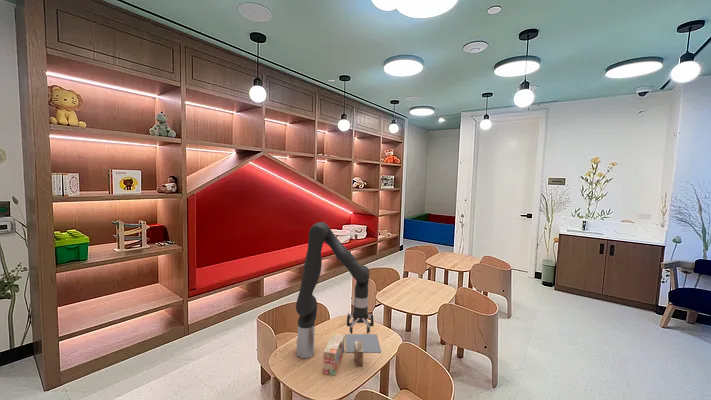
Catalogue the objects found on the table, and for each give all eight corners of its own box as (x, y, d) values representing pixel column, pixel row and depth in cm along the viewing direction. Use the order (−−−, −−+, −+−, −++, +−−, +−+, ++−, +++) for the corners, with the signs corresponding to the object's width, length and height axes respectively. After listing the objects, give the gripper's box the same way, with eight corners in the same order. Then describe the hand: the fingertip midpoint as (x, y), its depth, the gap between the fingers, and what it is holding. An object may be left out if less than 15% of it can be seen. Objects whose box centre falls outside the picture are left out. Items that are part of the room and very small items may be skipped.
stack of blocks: (333, 348, 168) (334, 328, 166) (344, 350, 166) (345, 330, 165) (322, 373, 147) (323, 351, 145) (334, 376, 145) (335, 353, 144)
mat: (346, 353, 164) (346, 352, 164) (345, 334, 182) (345, 334, 182) (381, 352, 165) (381, 352, 165) (376, 334, 183) (376, 334, 183)
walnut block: (355, 366, 153) (355, 349, 152) (354, 358, 160) (354, 341, 159) (362, 366, 153) (363, 349, 152) (361, 358, 160) (362, 341, 159)
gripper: (347, 307, 149) (346, 337, 150) (375, 307, 150) (373, 337, 151) (347, 300, 156) (346, 329, 158) (373, 300, 157) (371, 329, 159)
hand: (359, 333), depth 155 cm, fingers open, 8 cm apart
